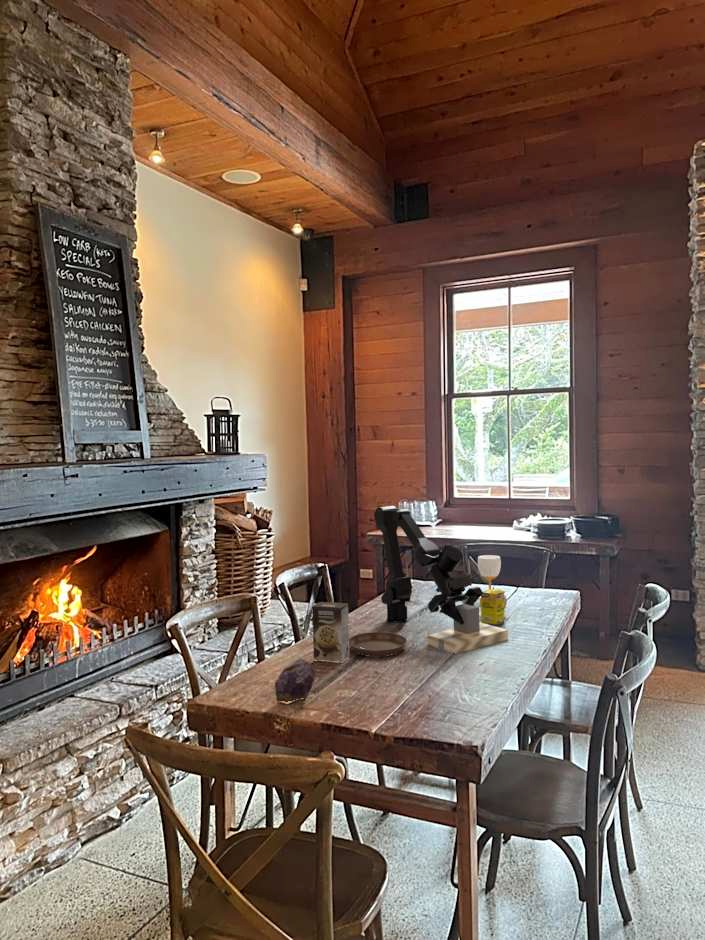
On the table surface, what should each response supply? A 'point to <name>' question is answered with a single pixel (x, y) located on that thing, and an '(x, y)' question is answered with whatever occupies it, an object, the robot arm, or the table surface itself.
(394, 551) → the robot arm
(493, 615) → the supplement box
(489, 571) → the cup
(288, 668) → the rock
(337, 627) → the cookie box
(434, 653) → the table surface
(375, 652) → the plant saucer
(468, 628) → the block
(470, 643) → the birch board
